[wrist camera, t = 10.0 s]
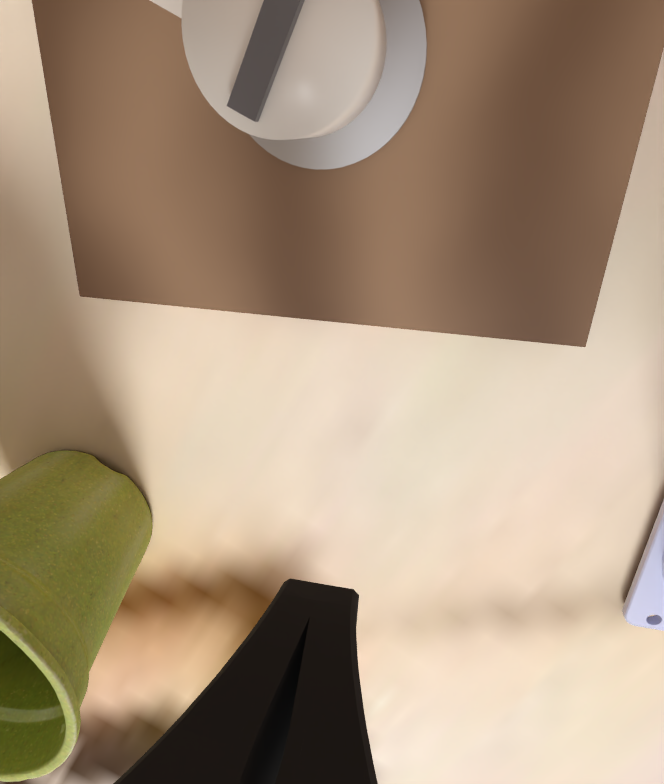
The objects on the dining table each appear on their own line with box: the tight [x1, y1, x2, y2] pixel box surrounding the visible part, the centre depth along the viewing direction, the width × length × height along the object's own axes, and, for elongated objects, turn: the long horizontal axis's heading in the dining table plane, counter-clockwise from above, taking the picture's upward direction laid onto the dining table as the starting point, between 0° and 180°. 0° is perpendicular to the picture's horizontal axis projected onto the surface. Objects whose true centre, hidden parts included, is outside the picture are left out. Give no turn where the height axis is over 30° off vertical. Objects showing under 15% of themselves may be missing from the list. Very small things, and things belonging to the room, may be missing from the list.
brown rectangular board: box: [32, 0, 664, 347], centre depth 14 cm, size 16×14×3 cm
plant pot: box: [0, 450, 152, 782], centre depth 20 cm, size 9×9×9 cm
